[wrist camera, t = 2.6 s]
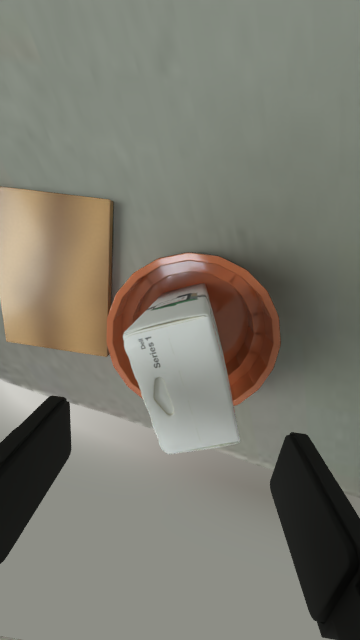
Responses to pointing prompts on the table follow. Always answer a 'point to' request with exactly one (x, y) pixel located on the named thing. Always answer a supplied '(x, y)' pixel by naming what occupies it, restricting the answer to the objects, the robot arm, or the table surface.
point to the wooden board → (56, 269)
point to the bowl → (228, 308)
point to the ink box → (183, 372)
